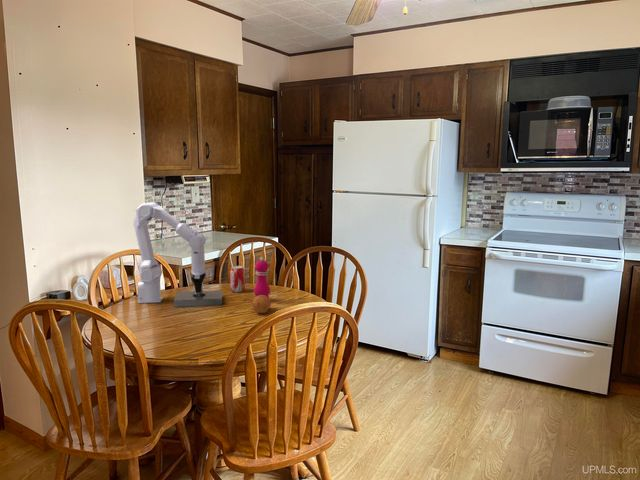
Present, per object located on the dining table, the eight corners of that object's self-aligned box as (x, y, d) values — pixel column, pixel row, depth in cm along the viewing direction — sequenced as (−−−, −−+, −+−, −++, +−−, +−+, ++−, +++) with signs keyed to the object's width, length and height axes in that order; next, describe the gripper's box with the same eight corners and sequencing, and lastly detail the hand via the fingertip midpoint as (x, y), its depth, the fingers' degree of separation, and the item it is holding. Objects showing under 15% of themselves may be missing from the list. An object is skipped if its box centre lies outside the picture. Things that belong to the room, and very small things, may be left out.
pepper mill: (271, 298, 219) (271, 256, 216) (268, 302, 212) (268, 258, 209) (256, 298, 220) (255, 255, 217) (252, 302, 213) (251, 258, 210)
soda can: (243, 292, 229) (243, 268, 227) (229, 292, 229) (228, 268, 227) (246, 289, 236) (245, 265, 234) (232, 289, 236) (231, 265, 234)
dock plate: (174, 307, 205) (173, 300, 204) (178, 298, 218) (177, 292, 218) (221, 305, 208) (221, 298, 207) (222, 296, 222) (222, 290, 221)
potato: (249, 315, 193) (249, 298, 192) (256, 306, 206) (256, 290, 205) (266, 316, 192) (266, 299, 191) (273, 307, 205) (273, 291, 204)
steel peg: (194, 300, 210) (193, 280, 209) (194, 297, 214) (193, 278, 213) (203, 299, 212) (203, 279, 210) (203, 297, 215) (202, 277, 214)
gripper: (206, 264, 204) (207, 294, 206) (208, 258, 218) (209, 286, 220) (189, 264, 203) (190, 295, 205) (192, 258, 217) (193, 287, 219)
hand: (198, 291), depth 212 cm, fingers closed on steel peg, 4 cm apart
